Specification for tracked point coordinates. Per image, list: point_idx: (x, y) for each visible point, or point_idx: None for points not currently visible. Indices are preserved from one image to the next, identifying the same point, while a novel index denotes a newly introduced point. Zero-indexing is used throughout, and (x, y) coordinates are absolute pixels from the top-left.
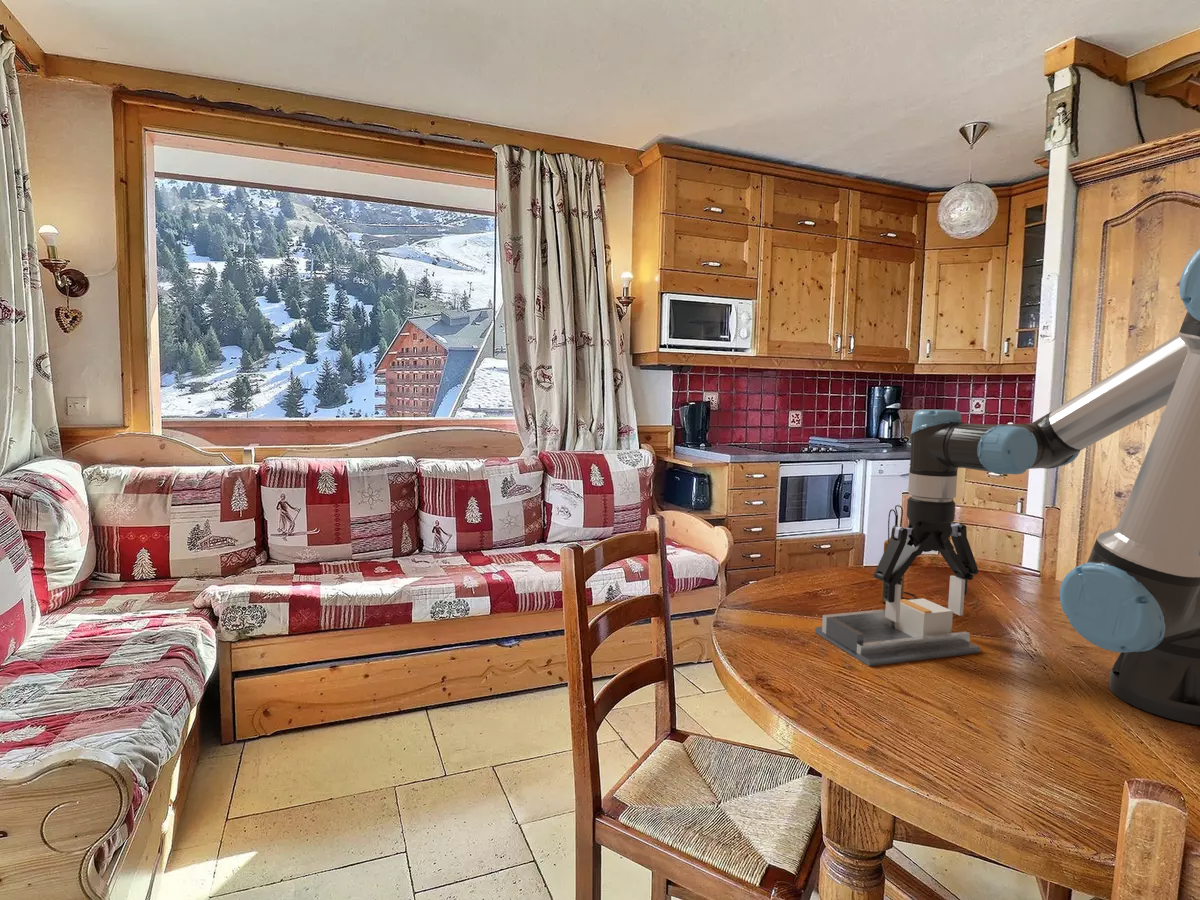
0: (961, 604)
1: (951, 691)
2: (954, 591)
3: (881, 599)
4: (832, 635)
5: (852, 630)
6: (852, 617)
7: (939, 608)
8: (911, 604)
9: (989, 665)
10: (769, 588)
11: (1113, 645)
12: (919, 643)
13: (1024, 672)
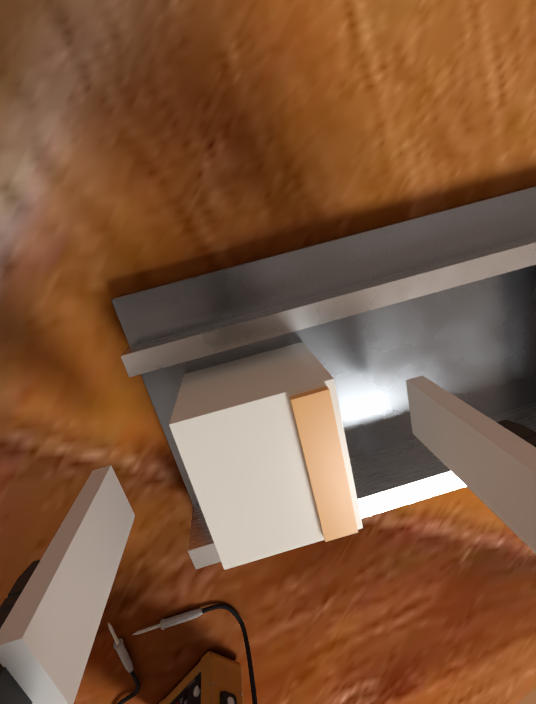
0: (85, 502)
1: None
2: (89, 580)
3: (241, 670)
4: None
5: None
6: None
7: (220, 452)
8: (337, 477)
9: (138, 179)
10: (480, 701)
11: None
12: (348, 290)
13: (26, 103)
